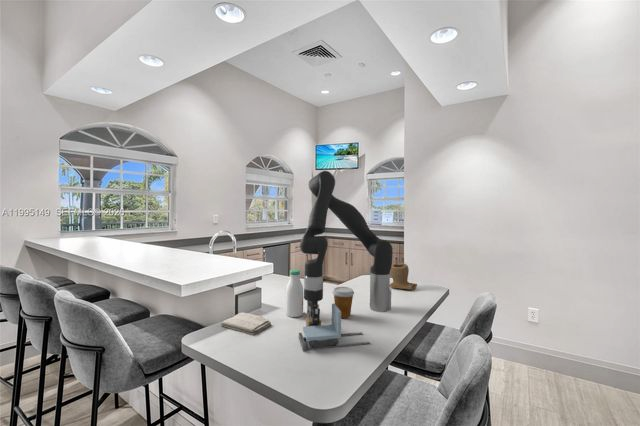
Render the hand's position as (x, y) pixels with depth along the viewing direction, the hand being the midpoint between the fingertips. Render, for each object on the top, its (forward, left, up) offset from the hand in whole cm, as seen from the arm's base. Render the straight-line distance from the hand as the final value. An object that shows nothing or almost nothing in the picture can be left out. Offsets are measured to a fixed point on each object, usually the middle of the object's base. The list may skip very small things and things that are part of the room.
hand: (312, 329), depth 117 cm
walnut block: (0, 0, -1) cm, 1 cm away
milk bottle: (+5, -19, -1) cm, 20 cm away
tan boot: (-63, -48, -1) cm, 79 cm away
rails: (-6, +10, -1) cm, 12 cm away
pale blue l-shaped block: (-1, +10, -1) cm, 10 cm away
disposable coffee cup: (-16, -13, -1) cm, 21 cm away
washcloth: (+26, -11, -2) cm, 28 cm away
